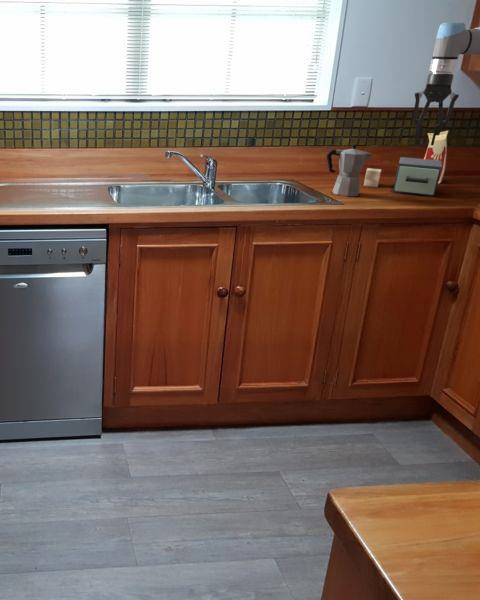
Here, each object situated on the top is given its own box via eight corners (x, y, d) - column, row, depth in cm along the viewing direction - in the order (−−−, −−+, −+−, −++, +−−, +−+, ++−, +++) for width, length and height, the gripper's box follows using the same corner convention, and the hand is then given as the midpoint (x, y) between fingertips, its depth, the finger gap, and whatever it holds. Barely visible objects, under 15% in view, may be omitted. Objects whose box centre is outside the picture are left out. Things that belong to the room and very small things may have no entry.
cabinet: (434, 197, 220) (441, 167, 215) (392, 192, 226) (398, 163, 221) (434, 188, 233) (441, 160, 228) (394, 184, 238) (400, 157, 234)
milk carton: (442, 180, 249) (454, 129, 241) (440, 183, 241) (453, 132, 234) (417, 177, 253) (429, 127, 245) (415, 181, 246) (426, 130, 238)
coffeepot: (362, 192, 225) (372, 142, 218) (367, 197, 217) (377, 146, 210) (318, 189, 229) (327, 140, 222) (321, 194, 220) (330, 144, 213)
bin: (433, 198, 214) (439, 173, 210) (393, 194, 219) (399, 169, 216) (433, 187, 230) (438, 163, 227) (396, 183, 236) (401, 160, 232)
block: (378, 184, 238) (381, 169, 236) (377, 187, 234) (380, 171, 232) (364, 183, 240) (367, 168, 238) (363, 185, 236) (366, 170, 234)
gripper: (413, 72, 204) (398, 143, 213) (470, 74, 197) (452, 147, 206) (413, 72, 211) (399, 140, 220) (469, 73, 203) (452, 144, 212)
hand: (425, 144), depth 213 cm, fingers open, 4 cm apart
